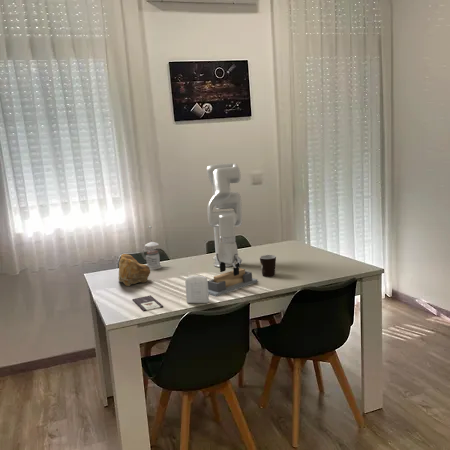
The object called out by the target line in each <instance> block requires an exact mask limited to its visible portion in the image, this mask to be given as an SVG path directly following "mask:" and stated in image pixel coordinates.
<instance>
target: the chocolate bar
mask: <svg viewBox="0 0 450 450" xmlns="http://www.w3.org/2000/svg"><path fill="white" fill-rule="evenodd" d="M132 302H133V303H135V304H136V306H137V307H138V308H140V310H142V311H143V312H149V311H152V310H157V309H161V308H164V305H163V304H161V303H160V302H159V301H158V299H156V298H154V297H153V295H147V296H141V297H137V298H132Z"/></svg>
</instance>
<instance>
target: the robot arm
mask: <svg viewBox="0 0 450 450" xmlns="http://www.w3.org/2000/svg"><path fill="white" fill-rule="evenodd" d="M206 175H207V177H208V179H209V180H208V181H210V183H211V187H212V188H211V189H212V190H211V191H212V197H211V198H210V200H209V201H208V203H207V207H206V208H207V209H206V210H207V211H206V213H207V222H208V225H209V226H210V227H213V234H214V248H215V255H214V256H213V257H212V260H213V261H215V262H213V266H214V267H215V268H219V271H220V273H224V272H226V268H228V267H232V266H233V268H232V271H233V273H234V276H236V275H239V269H240V266H241V265H242V261H243V259H242V258H241V257H240V256H239V252H238V246H237V242H236V229H235V227H240V226H241V225H242V224H243V208H242V198H241V194H240V192H238V191H232V190H231V184H238V183H239V182H240V181H241V180H242V179H241V178H242V177H241V171H240V167H239V165H238V164H237V163H235V162H229V163H214V164H209V165H208V166H207V167H206ZM213 209H216V210H219V211H214V210H213ZM228 209H229V210H228ZM231 209H232V210H231ZM220 210H221V211H220Z"/></svg>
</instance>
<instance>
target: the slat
mask: <svg viewBox="0 0 450 450" xmlns="http://www.w3.org/2000/svg"><path fill="white" fill-rule="evenodd" d="M245 271H246V269H245V268H240V267H239V275H236V276H234V273H233V270H231V271H227V272H223V273H220V274H216V275H215V276H214V275H213V279H214V282H216V283H219V282H222V281H225V282H226V287H229V286H232V285H235V284H238V283H240V282H243V274H245Z"/></svg>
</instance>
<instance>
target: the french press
mask: <svg viewBox="0 0 450 450" xmlns="http://www.w3.org/2000/svg"><path fill="white" fill-rule="evenodd" d="M152 228H153V227H152V226H151V225H149V226H148V229H149V230H150V231H149V232H150V234H152V233H151V229H152ZM150 240H151V241H150V242H147V243H146V244H144V247H143V248H142V249H141V252H142V254H141V256H142V258H143V259H144V260H146V265H147V266H148V267H149V268H150V271H151V270H158V269H161V268H162V267H163V266H162V265H161V261H160V260H161V259H160V252H159V250H158V249H151V250H147V248H153V247H154V248H155V247H158V246H159V243H158V242H154V241H152V239H150ZM145 250H147V251H146V254H145V253H144V251H145Z"/></svg>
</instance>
